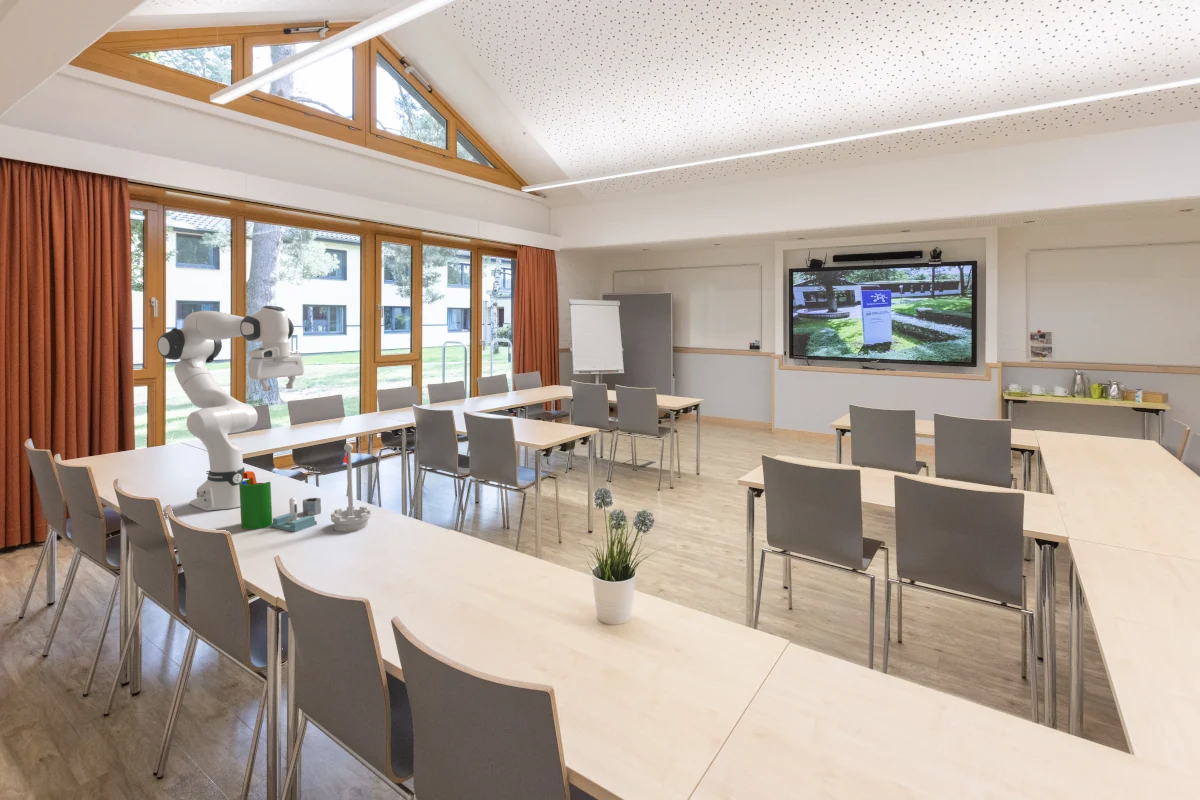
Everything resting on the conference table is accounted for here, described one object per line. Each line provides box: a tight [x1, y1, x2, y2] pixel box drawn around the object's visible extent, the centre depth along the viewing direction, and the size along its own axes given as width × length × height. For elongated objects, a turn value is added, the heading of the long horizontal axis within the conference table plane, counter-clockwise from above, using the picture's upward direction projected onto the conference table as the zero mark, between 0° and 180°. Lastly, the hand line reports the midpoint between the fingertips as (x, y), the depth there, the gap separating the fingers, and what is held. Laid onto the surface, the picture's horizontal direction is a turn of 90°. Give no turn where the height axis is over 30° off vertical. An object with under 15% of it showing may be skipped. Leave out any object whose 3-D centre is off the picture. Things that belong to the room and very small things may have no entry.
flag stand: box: [330, 442, 372, 532], centre depth 218 cm, size 13×13×30 cm
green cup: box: [239, 470, 273, 530], centre depth 218 cm, size 10×9×20 cm
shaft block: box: [270, 497, 318, 533], centre depth 219 cm, size 12×9×10 cm
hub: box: [302, 497, 322, 517], centre depth 233 cm, size 6×6×5 cm
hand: (278, 389), depth 224 cm, fingers open, 8 cm apart
